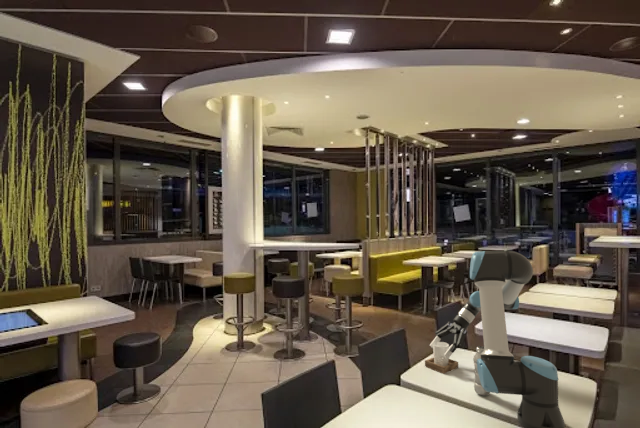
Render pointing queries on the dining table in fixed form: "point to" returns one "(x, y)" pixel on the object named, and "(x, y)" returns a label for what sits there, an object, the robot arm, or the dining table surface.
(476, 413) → the dining table surface
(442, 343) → the white cup
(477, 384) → the plastic bottle
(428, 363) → the brown wooden tray
